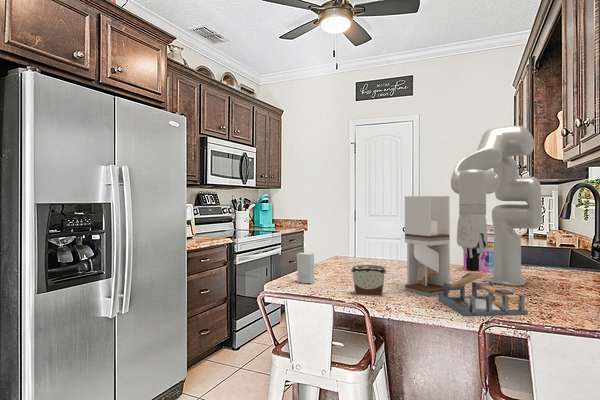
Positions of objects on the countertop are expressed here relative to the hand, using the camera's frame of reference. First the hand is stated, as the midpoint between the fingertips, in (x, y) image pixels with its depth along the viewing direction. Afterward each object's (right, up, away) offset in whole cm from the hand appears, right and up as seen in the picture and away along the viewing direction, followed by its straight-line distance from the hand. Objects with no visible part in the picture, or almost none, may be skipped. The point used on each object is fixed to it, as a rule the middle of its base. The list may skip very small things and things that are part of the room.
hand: (472, 270), depth 118 cm
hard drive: (+5, -13, +4) cm, 15 cm away
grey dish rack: (+5, -12, +4) cm, 14 cm away
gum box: (+37, -12, +64) cm, 75 cm away
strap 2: (+10, -9, +5) cm, 14 cm away
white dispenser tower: (-6, -12, +24) cm, 28 cm away
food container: (-28, -12, +22) cm, 37 cm away
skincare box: (-50, -12, +40) cm, 65 cm away
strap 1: (0, -5, +4) cm, 7 cm away
